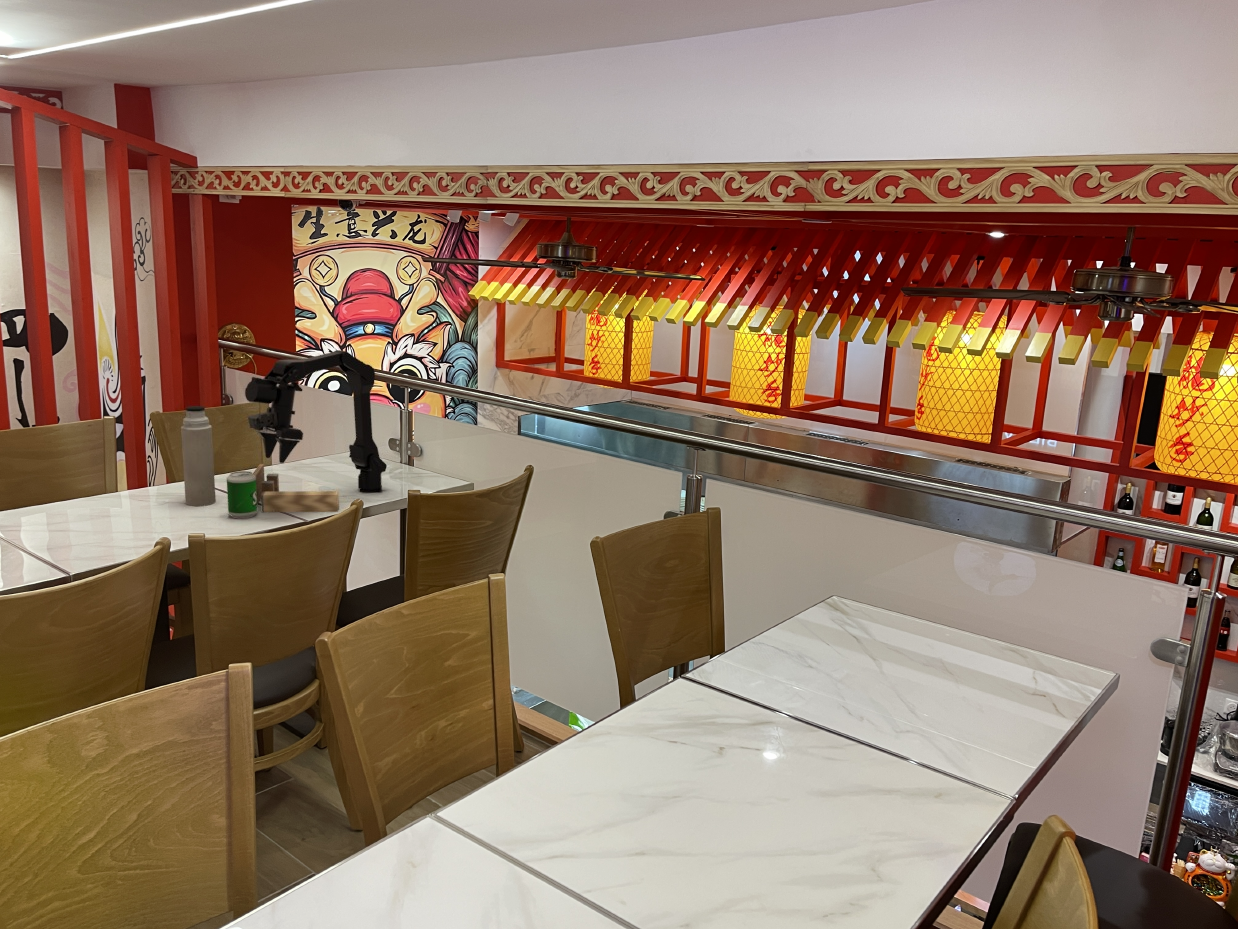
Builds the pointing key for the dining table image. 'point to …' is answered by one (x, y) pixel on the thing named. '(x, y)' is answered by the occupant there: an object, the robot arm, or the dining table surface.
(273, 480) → the headboard
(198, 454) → the thermos bottle
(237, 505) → the soda can
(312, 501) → the rail
